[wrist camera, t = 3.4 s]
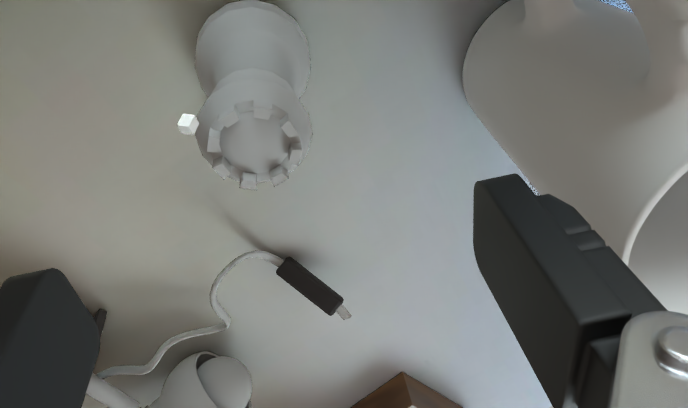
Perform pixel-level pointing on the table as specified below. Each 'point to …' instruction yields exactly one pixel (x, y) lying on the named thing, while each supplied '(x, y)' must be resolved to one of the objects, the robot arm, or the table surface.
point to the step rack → (405, 395)
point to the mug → (596, 120)
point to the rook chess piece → (253, 93)
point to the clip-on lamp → (205, 367)
